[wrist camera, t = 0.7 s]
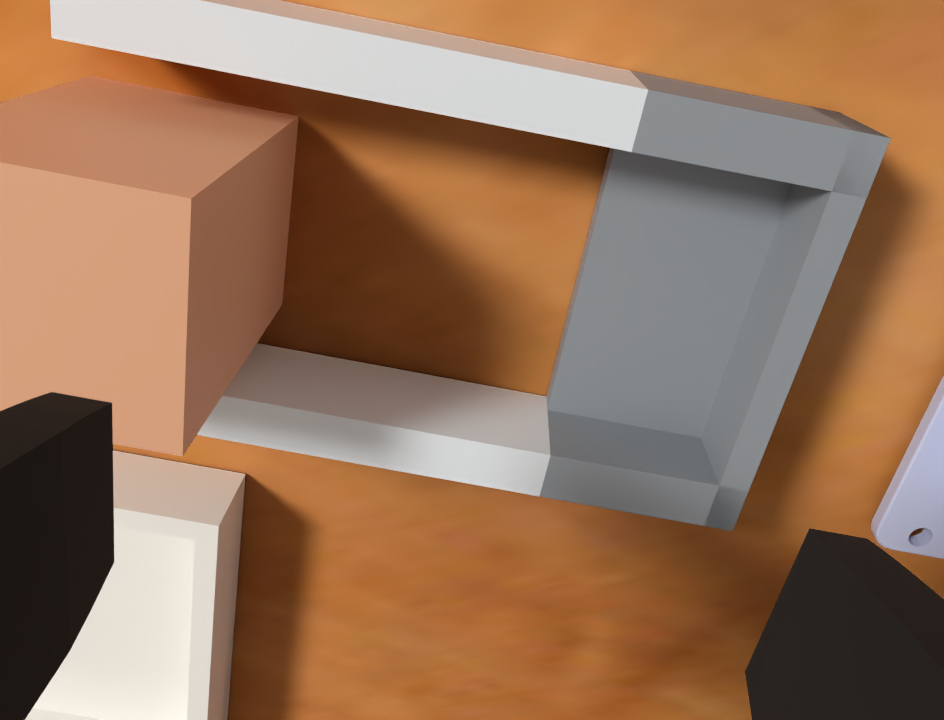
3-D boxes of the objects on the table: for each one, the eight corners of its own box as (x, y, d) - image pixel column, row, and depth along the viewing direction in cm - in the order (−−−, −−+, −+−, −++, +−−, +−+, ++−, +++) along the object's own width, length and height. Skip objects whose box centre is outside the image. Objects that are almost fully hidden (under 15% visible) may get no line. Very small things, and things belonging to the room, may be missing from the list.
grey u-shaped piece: (838, 112, 16) (890, 138, 13) (708, 465, 19) (732, 530, 17) (629, 70, 15) (648, 89, 13) (536, 434, 19) (539, 496, 17)
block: (299, 116, 16) (191, 199, 11) (282, 304, 18) (182, 456, 12) (91, 75, 16) (-124, 139, 11) (95, 269, 18) (-87, 408, 12)
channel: (629, 70, 15) (648, 89, 13) (536, 434, 19) (539, 496, 17) (115, -33, 15) (49, -31, 13) (118, 358, 19) (66, 411, 16)
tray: (245, 473, 20) (218, 526, 18) (226, 733, 24) (202, 796, 22) (-139, 405, 19) (-205, 451, 18) (-93, 680, 23) (-144, 740, 22)
